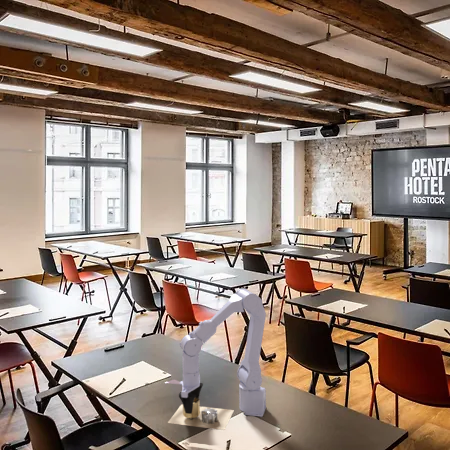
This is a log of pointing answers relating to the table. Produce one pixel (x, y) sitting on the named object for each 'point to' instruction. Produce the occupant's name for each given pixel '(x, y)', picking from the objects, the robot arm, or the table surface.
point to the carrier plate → (221, 424)
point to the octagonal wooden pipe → (195, 409)
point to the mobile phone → (173, 382)
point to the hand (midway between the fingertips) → (191, 408)
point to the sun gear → (209, 416)
